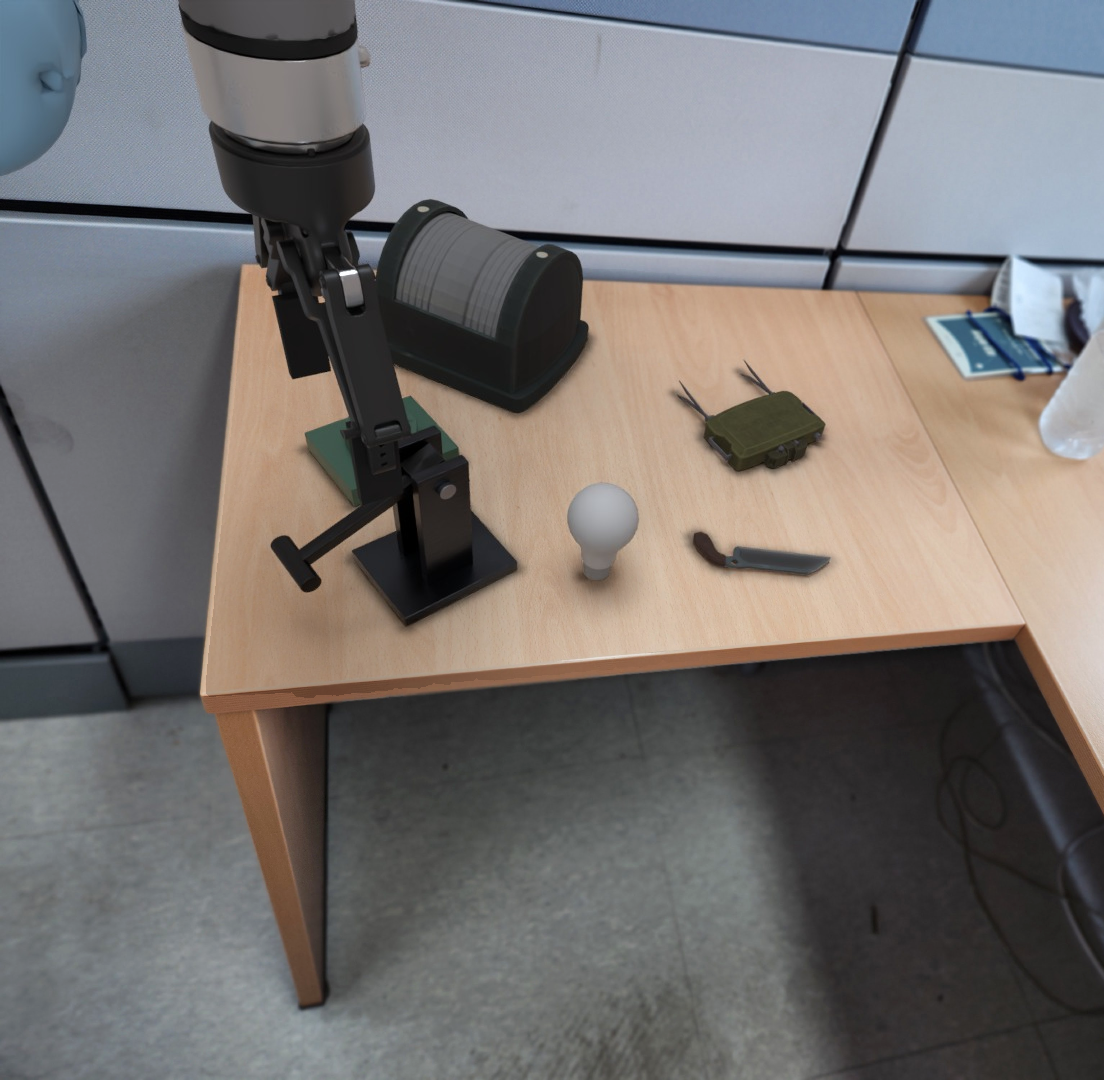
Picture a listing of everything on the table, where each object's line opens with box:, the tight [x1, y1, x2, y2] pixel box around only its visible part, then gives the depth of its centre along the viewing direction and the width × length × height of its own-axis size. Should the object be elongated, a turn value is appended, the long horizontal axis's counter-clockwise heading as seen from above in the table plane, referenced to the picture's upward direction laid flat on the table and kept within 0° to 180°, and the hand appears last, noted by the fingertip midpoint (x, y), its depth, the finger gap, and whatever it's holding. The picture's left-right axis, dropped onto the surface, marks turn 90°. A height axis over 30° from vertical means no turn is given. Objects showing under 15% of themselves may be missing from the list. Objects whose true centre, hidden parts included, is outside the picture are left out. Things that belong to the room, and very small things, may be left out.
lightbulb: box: [566, 482, 640, 582], centre depth 75 cm, size 6×6×11 cm
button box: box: [304, 395, 460, 507], centre depth 82 cm, size 11×9×4 cm
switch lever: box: [270, 443, 445, 593], centre depth 66 cm, size 14×5×2 cm, turn 133°
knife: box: [692, 531, 832, 576], centre depth 84 cm, size 14×4×1 cm, turn 90°
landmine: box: [677, 359, 826, 472], centre depth 96 cm, size 14×3×15 cm
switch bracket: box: [351, 425, 518, 627], centre depth 71 cm, size 11×9×14 cm
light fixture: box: [375, 198, 590, 414], centre depth 92 cm, size 17×14×20 cm
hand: (344, 431), depth 59 cm, fingers open, 13 cm apart
